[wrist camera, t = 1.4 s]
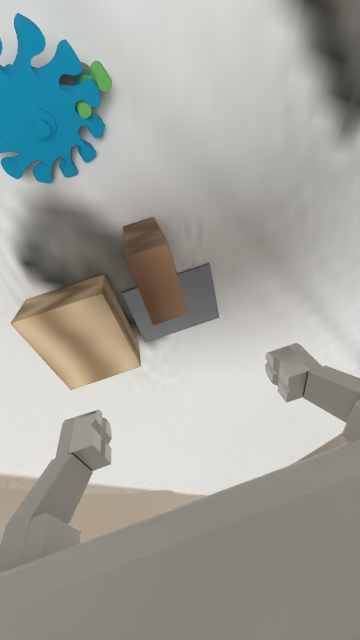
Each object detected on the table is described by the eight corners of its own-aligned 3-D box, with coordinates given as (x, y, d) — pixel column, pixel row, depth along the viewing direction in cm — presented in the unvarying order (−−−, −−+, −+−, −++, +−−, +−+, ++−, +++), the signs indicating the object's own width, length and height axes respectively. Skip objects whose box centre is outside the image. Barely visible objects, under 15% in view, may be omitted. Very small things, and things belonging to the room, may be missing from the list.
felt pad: (208, 263, 30) (209, 264, 30) (218, 316, 36) (219, 317, 35) (121, 292, 30) (121, 293, 30) (144, 340, 35) (145, 342, 35)
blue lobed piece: (27, 205, 21) (-109, 76, 11) (2, 157, 22) (-143, -2, 12) (132, 152, 22) (89, -12, 12) (104, 107, 23) (44, -81, 13)
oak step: (104, 274, 28) (102, 293, 24) (138, 342, 35) (141, 366, 31) (26, 299, 28) (10, 323, 24) (76, 363, 35) (70, 390, 31)
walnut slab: (153, 216, 26) (168, 243, 18) (169, 272, 30) (188, 313, 22) (123, 226, 26) (124, 257, 18) (144, 280, 30) (153, 325, 22)
